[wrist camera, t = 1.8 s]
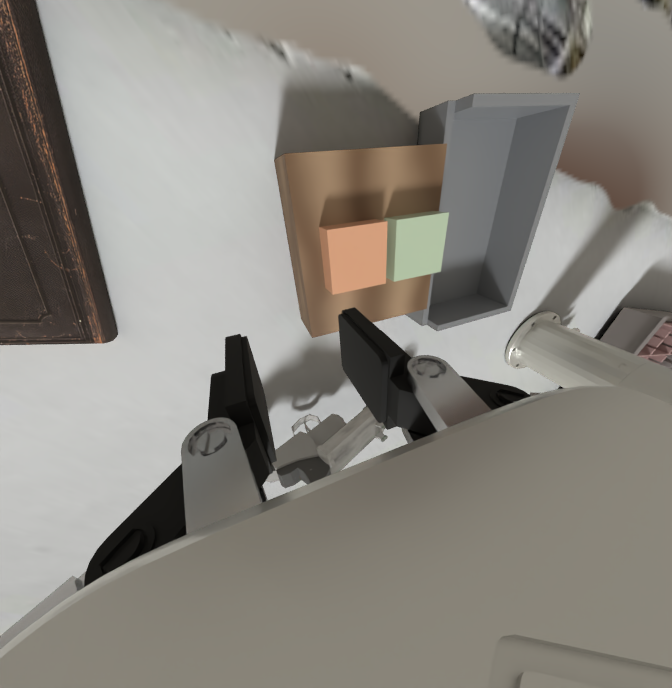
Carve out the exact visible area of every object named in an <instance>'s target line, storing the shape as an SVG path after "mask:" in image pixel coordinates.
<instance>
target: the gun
mask: <svg viewBox="0 0 672 688" xmlns="http://www.w3.org/2000/svg"><path fill="white" fill-rule="evenodd" d="M309 420H313V421H316V422H318V423H319V424H318V425H317V426H316V427H315V428H313V429H312V430H310V429H309V428H308V427H307V425H306V423H305V422H307V421H309ZM303 423H304V424H305V428H306V431H307V430H308V431H309V432H308V431H307V434H306V433H303V432H299V433H298V434H296V435H294V437H292V438H291V439H290V440H288V441H287V442H286V443H284V444H283V445H282V446H280V447H279V448H278V449H276V450H275V453H276V458H277V461H276V462H273V463H271V464H272V470H273V473H272V474H270V475H269V476H268V478H267V479H266V481H268V482H270V483H271V482H275V481H278V480H279V481H280V483H281V485H282V486H283V487H285V488H287V487H290V486H293V485H295V484H296V483H298V482H299V481H300V480H302V481H304V482H305V483H307V484H310V483H312V482H315V481H317V480H319V479H322V478H324V477H327V476H329V475H332V474H334V473H337V472H339V471H341V470H342V469H343V468H344V467H345V466H346V465H347V464H348V463H349V462H350V461H351V460H352V459H353V458H354V457H355V456H356V455H357V454H358V453H359V452H360V451H361V450H362V449H364V448H365V447H366V446H367V445H368V444H369V443H370V442H371V441H372V440H373V439H374V438H378V439H381V441H382V442H383V441H385V440H386V439H387V436H386V435H384V434H383V433H382V432H383V431H384V429H385V428H386V427H385V426H384V424H383V423H378V422H377V420H376V419H375V417H374V416H373V414H372V413H371V411H370V410H369V408H368V407H367V406H366V407H364V408H363V411H361V412H360V413H359V414H358V415H357V416H356V417H354V418H353V419H352V420H351V421H350V422H348V423H347V424H346V423H345V422H344V420H343V418H341V417H340V416H339V415H335V414H331V415H330V416H329V417H327V418H326V419H325V420H324V421H322V422H320V420H319V418H318V417H317V416H314V415H310V414H309V415H307V416H305V417H303V418H301V419H299V420H298V421H297V422H296V423H295V424H294V425H293V426H292V431H293V434H294V431H295V430H296V429H297V428H298V427H299V426H300V425H301V424H303Z"/></svg>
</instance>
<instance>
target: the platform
mask: <svg viewBox="0 0 672 688" xmlns="http://www.w3.org/2000/svg"><path fill="white" fill-rule="evenodd" d="M446 149H447V144H431V145H415V146H399V147H383V148H366V149H350V150H334V151H318V152H302V153H286V154H283V155H281V156H280V157H278V158H277V159H275V160H274V162H275V168H276V174H277V179H278V185H279V191H280V197H281V203H282V209H283V215H284V221H285V226H286V232H287V238H288V244H289V250H290V256H291V262H292V267H293V273H294V279H295V285H296V291H297V297H298V303H299V309H300V314H301V319H302V321H303V323H304V325H305V326H306V328H307V330H308V331H309V333H310V335H311V337H312V338H314V337H318V336H322V335H325V334H329V333H333V332H337V331H339V322H338V315H339V314H341V313H342V310H345V309H349V308H354V307H355V308H356V309H357V310H359V311H360V312H361V313H362V314H363V315H364V316H365V317H366V318H367V319H368V320H370V321H371V322H372V323H373V322H377V321H381V320H385V319H388V318H392V317H396V316H400V315H404V314H408V313H412V312H416V311H420V310H424V309H427V303H428V295H429V287H430V279H431V274H428V275H423V276H418V277H414V278H409V279H404V280H400V281H395V282H394V281H392V280H390V279H388V278H386V284H381V285H376V286H372V287H367V288H362V289H358V290H353V291H348V292H344V293H339V294H334V295H332V294H331V293H330V292H329V291H328V290H327V289H326V288H325V280H324V270H323V261H322V251H321V242H320V232H319V227H322V226H329V225H337V224H344V223H351V222H358V221H365V220H372V219H378V220H383V221H384V218H386V217H393V216H401V215H408V214H415V213H422V212H429V211H439V206H440V198H441V190H442V182H443V174H444V166H445V158H446Z"/></svg>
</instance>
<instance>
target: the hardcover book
mask: <svg viewBox="0 0 672 688" xmlns="http://www.w3.org/2000/svg"><path fill="white" fill-rule="evenodd" d="M117 335H118V333H117V329H116V325H115V321H114V317H113V313H112V309H111V305H110V301H109V297H108V293H107V289H106V285H105V281H104V277H103V273H102V269H101V265H100V261H99V257H98V253H97V249H96V245H95V241H94V237H93V233H92V229H91V225H90V221H89V217H88V213H87V209H86V205H85V201H84V197H83V193H82V189H81V185H80V181H79V177H78V173H77V169H76V165H75V161H74V157H73V153H72V149H71V145H70V141H69V137H68V133H67V129H66V125H65V121H64V117H63V113H62V109H61V105H60V101H59V97H58V93H57V89H56V85H55V81H54V77H53V73H52V69H51V65H50V61H49V57H48V53H47V49H46V45H45V41H44V37H43V33H42V29H41V25H40V21H39V17H38V13H37V9H36V5H35V1H34V0H0V345H32V344H91V343H107V342H110V341H113V340H114V339H115V338H116V337H117Z"/></svg>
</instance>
